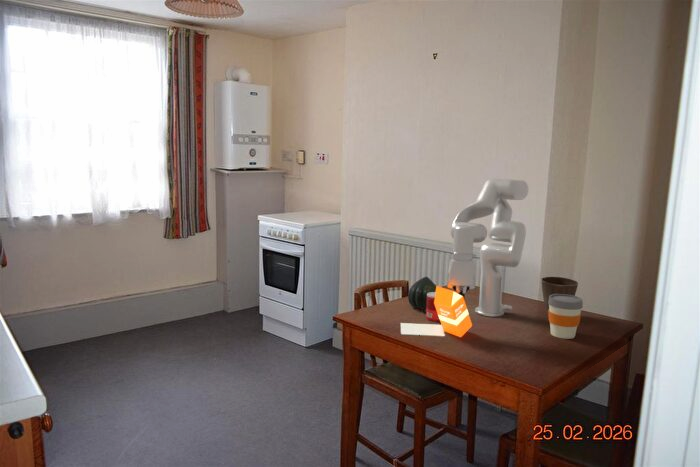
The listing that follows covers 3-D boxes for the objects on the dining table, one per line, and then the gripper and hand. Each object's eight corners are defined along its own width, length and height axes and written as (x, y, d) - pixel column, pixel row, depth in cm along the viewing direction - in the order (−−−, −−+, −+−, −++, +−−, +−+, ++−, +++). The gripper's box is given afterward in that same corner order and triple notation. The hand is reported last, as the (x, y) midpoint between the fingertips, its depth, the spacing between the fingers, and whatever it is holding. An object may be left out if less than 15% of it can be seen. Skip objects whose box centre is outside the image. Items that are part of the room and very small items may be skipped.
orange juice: (460, 337, 199) (447, 296, 191) (443, 331, 206) (429, 291, 198) (472, 325, 203) (459, 284, 194) (455, 319, 210) (442, 280, 201)
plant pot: (579, 315, 228) (582, 280, 226) (568, 323, 217) (572, 287, 214) (545, 308, 238) (548, 275, 235) (533, 316, 226) (536, 281, 224)
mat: (441, 325, 213) (441, 324, 213) (444, 336, 200) (445, 335, 200) (400, 323, 214) (400, 323, 214) (401, 334, 201) (401, 333, 201)
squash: (417, 303, 224) (435, 276, 227) (397, 296, 236) (414, 270, 240) (435, 321, 230) (453, 293, 234) (415, 313, 243) (432, 287, 246)
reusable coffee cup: (538, 331, 207) (541, 295, 205) (562, 327, 212) (565, 292, 210) (562, 342, 196) (566, 304, 193) (587, 337, 201) (590, 300, 198)
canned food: (444, 322, 216) (445, 297, 214) (425, 321, 218) (426, 296, 216) (445, 317, 224) (446, 292, 222) (426, 315, 225) (427, 291, 223)
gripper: (480, 255, 203) (477, 300, 206) (442, 254, 204) (440, 299, 207) (483, 259, 196) (480, 306, 199) (444, 258, 197) (441, 304, 200)
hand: (460, 302), depth 203 cm, fingers closed
